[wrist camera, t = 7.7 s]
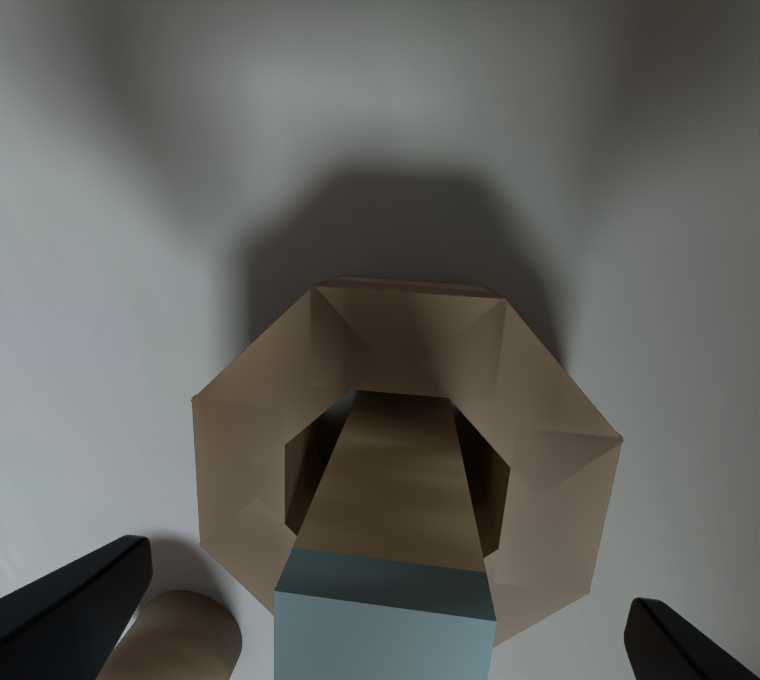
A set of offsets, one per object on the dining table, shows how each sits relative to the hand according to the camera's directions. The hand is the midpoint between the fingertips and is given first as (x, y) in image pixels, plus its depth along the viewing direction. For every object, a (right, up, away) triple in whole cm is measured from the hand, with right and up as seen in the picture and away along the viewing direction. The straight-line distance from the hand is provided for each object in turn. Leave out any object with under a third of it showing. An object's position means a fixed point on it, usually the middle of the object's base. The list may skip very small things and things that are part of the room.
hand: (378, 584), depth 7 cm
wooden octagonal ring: (+1, +1, +6) cm, 6 cm away
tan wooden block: (+1, +1, +6) cm, 6 cm away
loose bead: (-8, -8, +9) cm, 14 cm away
